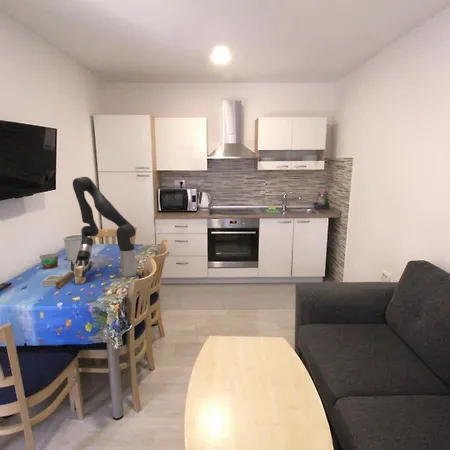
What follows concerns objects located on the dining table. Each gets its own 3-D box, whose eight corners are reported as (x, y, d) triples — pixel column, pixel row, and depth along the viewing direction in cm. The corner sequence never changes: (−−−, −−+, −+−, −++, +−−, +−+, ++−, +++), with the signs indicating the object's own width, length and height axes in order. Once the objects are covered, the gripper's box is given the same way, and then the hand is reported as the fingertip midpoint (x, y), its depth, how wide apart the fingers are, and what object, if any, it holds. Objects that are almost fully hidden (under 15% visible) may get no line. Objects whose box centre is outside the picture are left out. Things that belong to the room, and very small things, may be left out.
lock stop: (85, 280, 201) (83, 265, 199) (82, 283, 196) (80, 268, 194) (78, 280, 201) (76, 265, 199) (75, 283, 196) (73, 268, 194)
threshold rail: (73, 277, 207) (72, 271, 206) (59, 288, 190) (58, 282, 189) (70, 277, 207) (69, 271, 206) (56, 288, 190) (55, 282, 189)
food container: (38, 270, 223) (36, 256, 221) (41, 267, 229) (39, 254, 227) (58, 268, 226) (56, 254, 224) (60, 265, 232) (58, 252, 230)
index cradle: (63, 280, 203) (62, 275, 202) (56, 285, 194) (55, 280, 194) (50, 280, 203) (49, 275, 202) (43, 286, 194) (42, 280, 193)
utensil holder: (81, 260, 243) (79, 238, 239) (62, 261, 243) (59, 238, 240) (90, 255, 257) (87, 234, 254) (71, 255, 258) (69, 234, 254)
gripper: (71, 250, 202) (64, 274, 193) (93, 249, 202) (87, 274, 193) (75, 255, 208) (69, 280, 199) (97, 255, 208) (92, 279, 199)
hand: (78, 277), depth 196 cm, fingers closed on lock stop, 4 cm apart
